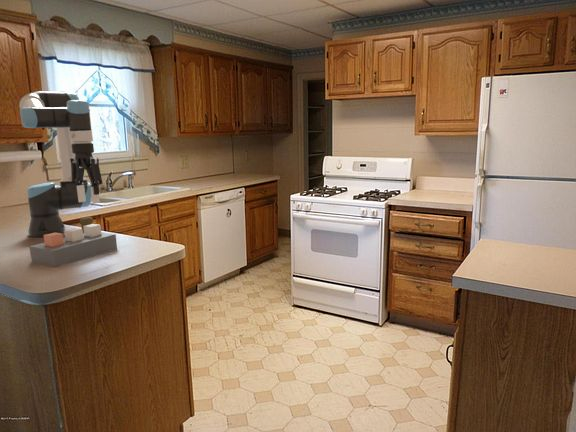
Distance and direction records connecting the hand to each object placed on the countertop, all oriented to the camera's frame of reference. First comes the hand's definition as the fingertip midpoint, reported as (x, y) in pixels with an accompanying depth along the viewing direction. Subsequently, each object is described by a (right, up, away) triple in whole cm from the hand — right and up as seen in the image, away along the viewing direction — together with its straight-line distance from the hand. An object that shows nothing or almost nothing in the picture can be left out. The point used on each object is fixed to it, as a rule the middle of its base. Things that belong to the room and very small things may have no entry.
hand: (89, 202), depth 167 cm
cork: (-8, -17, +16) cm, 24 cm away
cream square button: (0, -13, +3) cm, 13 cm away
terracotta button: (-7, -16, -11) cm, 21 cm away
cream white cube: (-4, -14, -4) cm, 15 cm away
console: (-3, -20, -3) cm, 21 cm away
